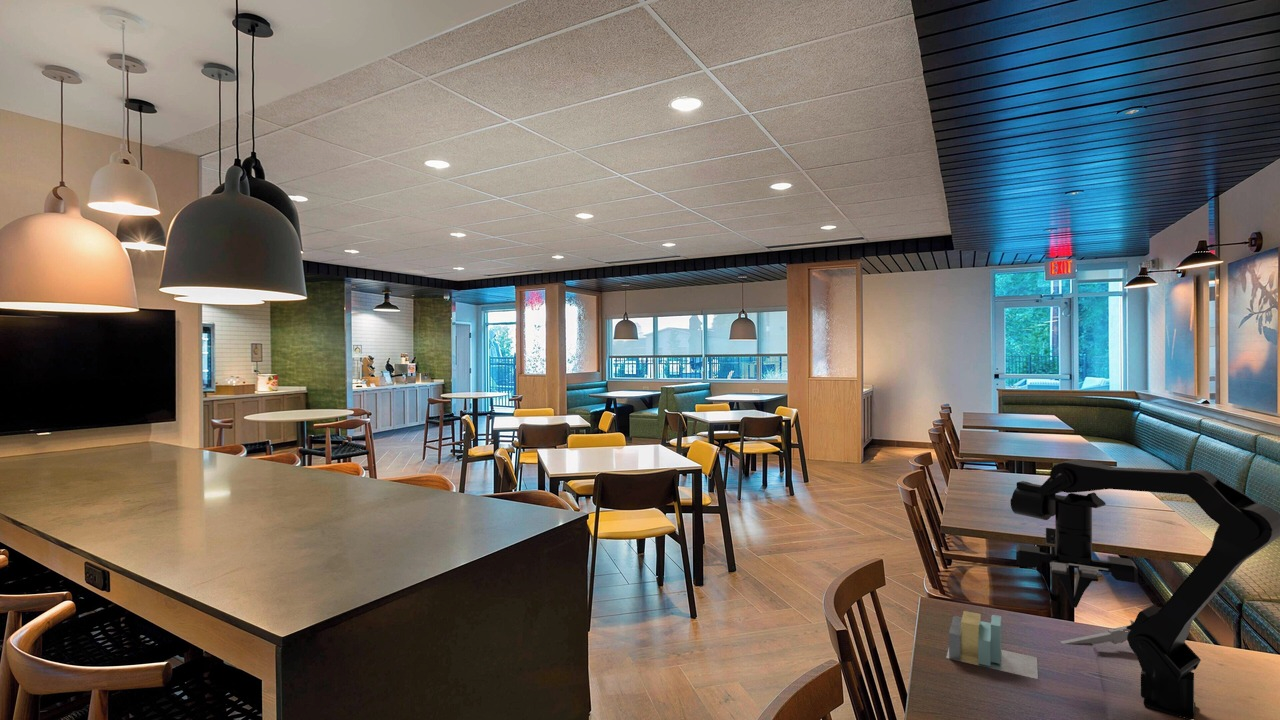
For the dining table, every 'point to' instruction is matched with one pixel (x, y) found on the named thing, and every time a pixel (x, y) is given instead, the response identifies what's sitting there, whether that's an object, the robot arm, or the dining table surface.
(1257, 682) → the dining table surface
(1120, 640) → the grey long thin bar
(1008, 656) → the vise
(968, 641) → the brass block
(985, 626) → the block
